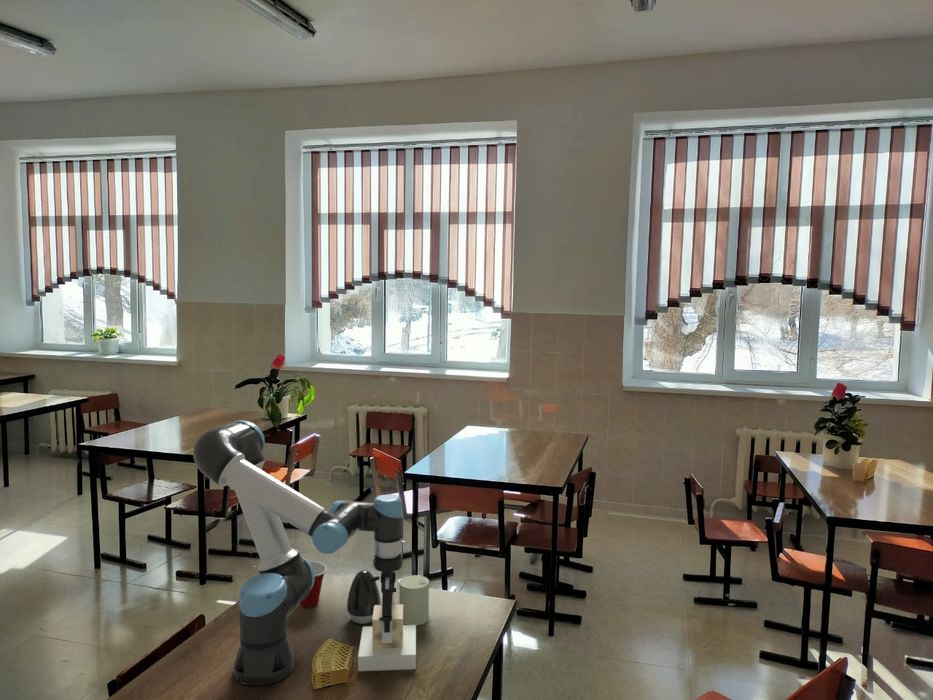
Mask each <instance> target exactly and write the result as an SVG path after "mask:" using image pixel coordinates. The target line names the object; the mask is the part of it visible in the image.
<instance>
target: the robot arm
mask: <svg viewBox="0 0 933 700" xmlns="http://www.w3.org/2000/svg"><path fill="white" fill-rule="evenodd" d="M265 442H266V441H265V435H264V432H262V430H261V429H260V427H259V426H258V425H257V424H255V423H254V422H251V421H248V420H245V419H244V420H242V419H241V420H236V421H235V420H234V421H232V422H229V423H226V424H224V425H220V426H218V427H215V428H211V429H208V430H207V431H205V432H203V433H202V434H201V435H200V436H199V437H198V438H197V440H196V441H195V443H194V445H193V446H194V447H193V451H192V456H193V460H194V463H195V465H196V467H197V469H198V470H199V471H200V472H201V474H203V475H204V476H205V477H206V478H208V480H210V481H211V482H213V483H215V484H217V486H220V487H226V486H228V487H229V488H231V489H233V490H234V492H235V495H236V498H237V500H238V503H239V505H240V508H241V511H242V513H243V516H244V518H245V521H246V524H247V527H248V529H249V532H250V534H251V537H252V539H253V543H254V545H255V547H256V550H257V553H258V556H259V558H260V564H259V565H258V568H257V570H258V572H259V574H258V575H257V576H253V577H251V578H249V579H248V580H247V581H245V582H244V583H243V584H242V586H241V588H240V591H239V596H238V597H239V598H238V608H239V609H238V611H239V615H238V616H239V638H240V639H239V643H240V644H239V647H238V650H237V653H236V656H235V659H234V663H233V677H235V678H236V679H235V678H234V679H235V680H236V681H237V680H238V681H239V682H242V683H245V684H248V685H253V686H252V687H262V686H263V687H264V686H267V685H273V684H275V683H277V682H279V681H281V680H283V679H285V678H286V677H288V676H289V675H290V674H291V673H292V671H293V670H294V668H295V654H294V652H293V649H292V646H291V644H290V641H289V639H288V631H287V630H288V625H287V623H288V616H289V614H291V613H292V612H293V611H294V610H295V609H296V608H297V607H298V605H300V602H301V601H302V600H304V599H305V598H306V597H307V595H308V594H309V592H310V591H311V589H312V587H313V585H314V581H315V573H314V569H313V567H312V565H311V563H310V562H309V561H310V560H308V559H306V558H305V557H304V556H301V554H300V552H299V550H298V549H296V548H293V547H292V546H291V542H290V540H289V538H288V535H287V533H286V530H285V527H284V524H283V523H282V520H284V521H285V522H287V523H288V524H290V525H291V526H293V527H295V528H297V529H298V530H300V531H301V532H303V533H305V534H306V535H308V536H309V537H311V538H312V539H311V540H312V544H313V545H314V547H315V549H316V550H317V551H319V552H320V553H322V554H325V555H326V554H333V553H335V552H337V551H338V550H340V549H341V548H343V547H344V545H346V543H347V542H348V541H349V540H350V538H351V537H353V536H354V535H355V534H356V533H357V532H358V531H360V532H361V531H363V532H373V535H374V536H373V553H374V555H373V557H374V558H373V563H374V564H373V566H374V569H375V570H376V571H378V572H380V583H381V586H380V588H381V589H380V592H381V593H382V595H381V597H382V599H381V605H382V617H379V620H382V643H392V605H395V593H397V587H395V583H396V576H397V575H396V574H397V571H399V570H400V569H401V568H403V567H402V566H403V545H405V540H403V514H404V513H403V504H402V498H400V496H398V495H396V494H380V495H377V496H376V497H375V498H374V500H373V502H367V501H366V502H365V501H357V500H356V501H354V500H349V499H345V500H335V501H334V502H333V503H332V504H331V507H330V508H329V510H328V509H327V508H324V507H323V506H322V505H321V504H320V505H319V504H318V503H316V502H315V501H313V500H312V499H310V498H308V497H307V496H305V495H304V494H302V493H300V492H298V491H296V490H295V489H294V488H293V487H291V486H289V485H287V484H285V483H284V482H282V481H281V480H279V479H277V478H276V477H274V476H272V475H271V474H269V473H268V472H266V471H264V470H263V466H264V464H265V462H266V461H265V457H264V454H263V450H264V447H265V444H266V443H265ZM238 681H237V682H238ZM239 682H238V683H239ZM248 685H247V686H248Z"/></svg>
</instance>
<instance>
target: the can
mask: <svg viewBox="0 0 933 700" xmlns="http://www.w3.org/2000/svg"><path fill="white" fill-rule="evenodd" d="M398 586H399V587H398V589H399V604H403V625H405V624H406V625H416V627H417V625H418V626H421V625H424V624H426V623H427V622H428V621H429V620H430V612H429V611H430V609H429V607H430V601H429V599H430V580H429V578H427V577H426V576H424V575H420V574H419V575H418V574H415V575H414V574H412V575H407V576H404V577H402V578H401V579H399V581H398Z"/></svg>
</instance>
